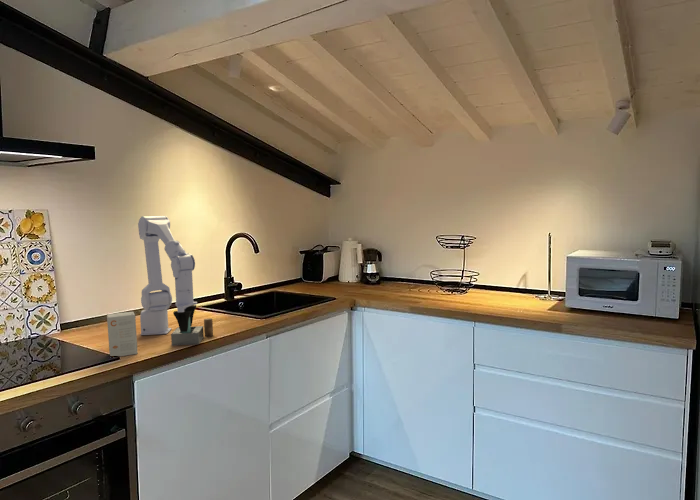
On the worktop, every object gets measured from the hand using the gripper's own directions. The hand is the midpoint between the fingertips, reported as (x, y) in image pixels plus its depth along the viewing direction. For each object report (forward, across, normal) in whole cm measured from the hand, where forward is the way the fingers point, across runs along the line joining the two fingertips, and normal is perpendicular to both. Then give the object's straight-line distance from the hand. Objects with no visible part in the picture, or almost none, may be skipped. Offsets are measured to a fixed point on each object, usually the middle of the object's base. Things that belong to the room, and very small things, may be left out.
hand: (186, 328), depth 173 cm
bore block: (+5, +2, 0) cm, 5 cm away
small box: (+5, -10, +18) cm, 21 cm away
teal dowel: (+4, 0, 0) cm, 4 cm away
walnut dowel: (+5, +9, -6) cm, 12 cm away
